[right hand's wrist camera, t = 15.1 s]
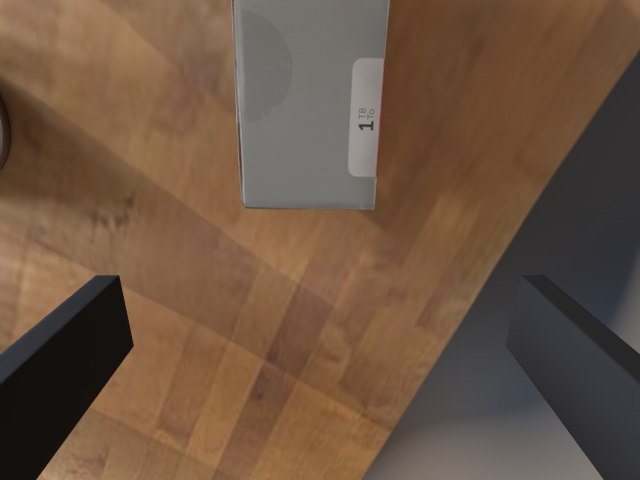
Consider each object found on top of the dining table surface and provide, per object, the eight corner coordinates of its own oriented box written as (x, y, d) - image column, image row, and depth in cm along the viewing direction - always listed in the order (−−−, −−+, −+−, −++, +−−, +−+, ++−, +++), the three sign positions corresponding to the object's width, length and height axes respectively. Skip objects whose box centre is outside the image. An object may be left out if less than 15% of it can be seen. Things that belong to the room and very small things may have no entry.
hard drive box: (349, 158, 40) (374, 217, 21) (274, 156, 40) (235, 214, 21) (358, -18, 34) (403, -146, 16) (272, -21, 34) (215, -153, 16)
